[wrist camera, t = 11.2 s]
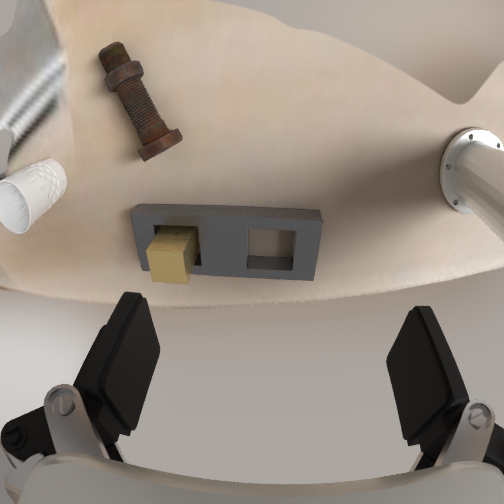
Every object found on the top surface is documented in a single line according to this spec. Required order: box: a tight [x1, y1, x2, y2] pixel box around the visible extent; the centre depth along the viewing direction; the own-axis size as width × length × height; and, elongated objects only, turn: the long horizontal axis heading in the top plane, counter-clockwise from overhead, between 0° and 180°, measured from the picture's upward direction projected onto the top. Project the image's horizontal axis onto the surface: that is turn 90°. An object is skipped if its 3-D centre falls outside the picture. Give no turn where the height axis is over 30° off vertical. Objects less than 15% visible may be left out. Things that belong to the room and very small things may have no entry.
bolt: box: [98, 42, 182, 162], centre depth 30 cm, size 6×5×15 cm
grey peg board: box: [131, 204, 323, 281], centre depth 40 cm, size 24×9×3 cm, turn 89°
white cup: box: [0, 158, 67, 234], centre depth 33 cm, size 8×8×10 cm
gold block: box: [146, 225, 200, 284], centre depth 38 cm, size 4×4×8 cm
